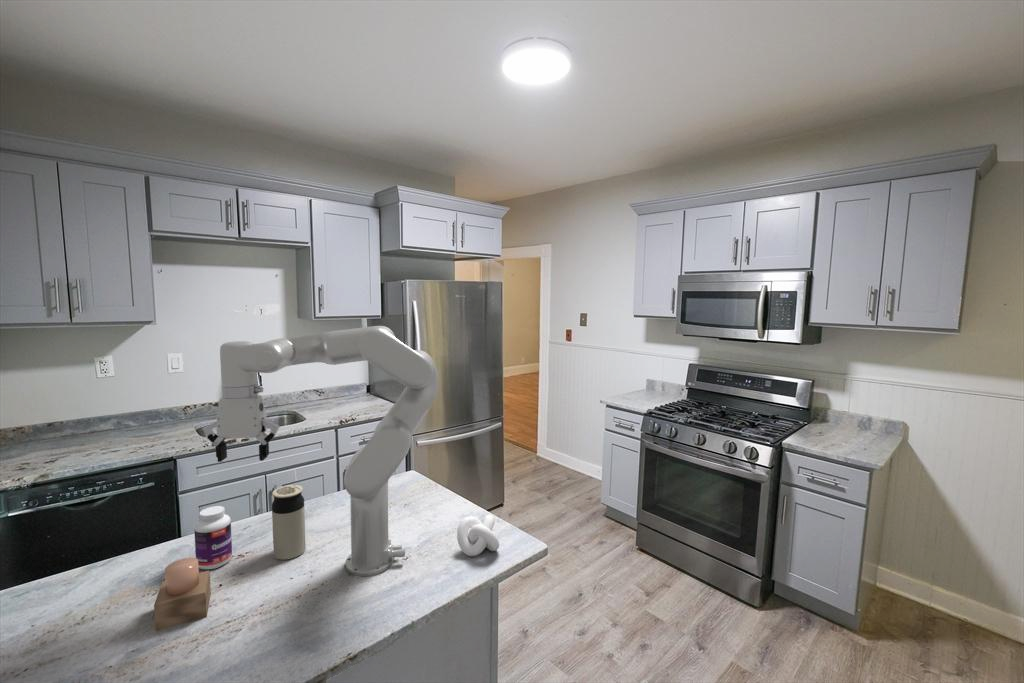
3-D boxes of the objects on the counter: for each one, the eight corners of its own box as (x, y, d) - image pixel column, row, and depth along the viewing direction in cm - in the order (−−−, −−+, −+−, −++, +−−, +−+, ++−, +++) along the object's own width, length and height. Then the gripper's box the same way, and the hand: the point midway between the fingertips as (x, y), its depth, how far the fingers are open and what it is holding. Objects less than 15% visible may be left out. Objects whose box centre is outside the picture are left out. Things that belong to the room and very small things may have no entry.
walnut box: (210, 594, 107) (209, 570, 107) (206, 617, 99) (205, 592, 99) (164, 606, 103) (162, 581, 102) (155, 631, 95) (153, 605, 94)
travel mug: (278, 564, 119) (275, 499, 117) (270, 551, 125) (268, 489, 123) (309, 553, 124) (307, 491, 123) (300, 541, 130) (298, 481, 128)
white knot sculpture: (510, 548, 128) (510, 519, 127) (481, 567, 119) (481, 535, 118) (481, 535, 135) (481, 506, 134) (452, 552, 126) (452, 521, 125)
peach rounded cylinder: (204, 577, 104) (203, 556, 104) (189, 594, 98) (188, 572, 98) (176, 579, 103) (175, 558, 103) (159, 596, 97) (158, 574, 97)
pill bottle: (214, 573, 115) (211, 519, 113) (188, 569, 116) (185, 516, 115) (239, 556, 123) (237, 505, 121) (214, 552, 124) (212, 502, 123)
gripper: (283, 388, 115) (285, 453, 117) (210, 389, 113) (214, 455, 115) (271, 394, 108) (273, 463, 109) (193, 395, 105) (197, 466, 107)
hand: (243, 459), depth 112 cm, fingers open, 9 cm apart
